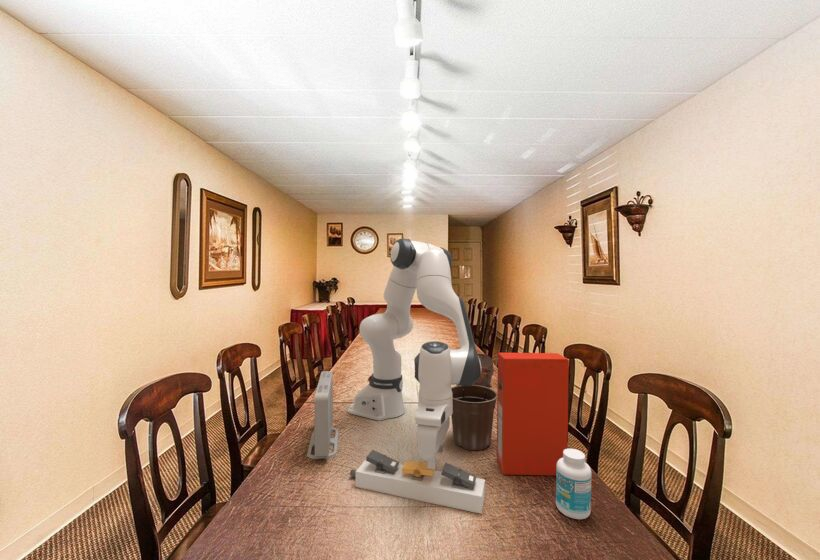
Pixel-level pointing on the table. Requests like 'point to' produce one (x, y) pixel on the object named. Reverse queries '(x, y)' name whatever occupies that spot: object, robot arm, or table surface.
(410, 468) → the rocker middle orange
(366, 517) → the table surface
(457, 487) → the power strip
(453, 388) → the plant pot
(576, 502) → the pill bottle
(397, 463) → the rocker left black
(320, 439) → the network device
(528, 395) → the file binder
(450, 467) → the rocker right black
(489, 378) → the case
